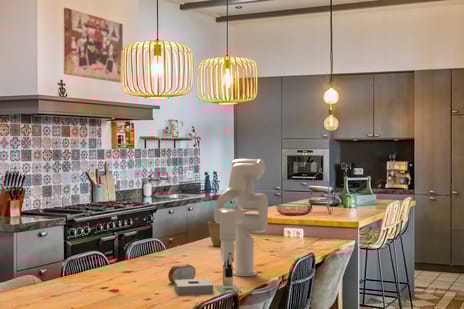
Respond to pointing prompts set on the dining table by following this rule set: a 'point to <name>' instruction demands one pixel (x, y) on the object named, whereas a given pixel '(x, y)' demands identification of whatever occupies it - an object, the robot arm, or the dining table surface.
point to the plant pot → (214, 232)
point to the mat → (227, 288)
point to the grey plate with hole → (193, 286)
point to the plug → (227, 278)
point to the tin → (181, 273)
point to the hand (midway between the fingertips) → (227, 275)
